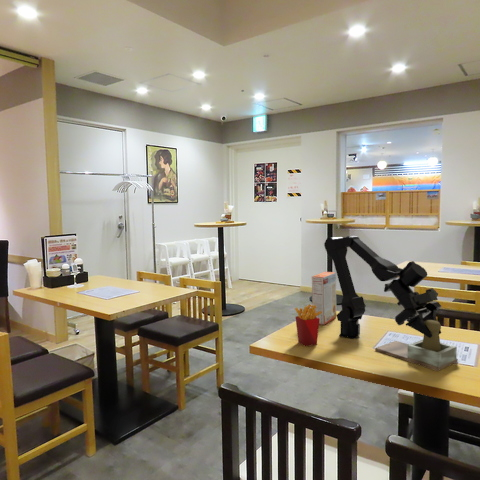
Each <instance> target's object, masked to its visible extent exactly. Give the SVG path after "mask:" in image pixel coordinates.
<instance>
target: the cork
mask: <svg viewBox="0 0 480 480" xmlns="http://www.w3.org/2000/svg"><path fill="white" fill-rule="evenodd" d="M424 323H425V324H426V326H427V327H428V329H429V331H430V332H431V334H432V337H431V338H429V337H427V336H426V335H424V334H423V337H422V340H423V343H422V348H424V349H428V350H431V351H435V352H439V351H441V347H440V343H441V340H440V334H439V331H440V330H441V329H442V325H441V323H440V321H438V320H437V321H435V320H426V321H424Z"/></svg>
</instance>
